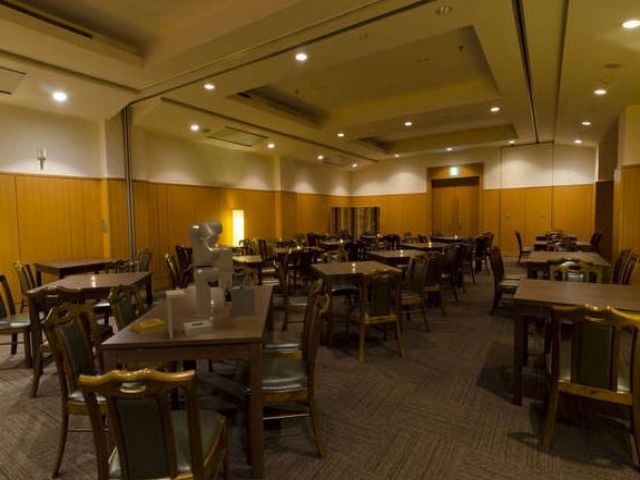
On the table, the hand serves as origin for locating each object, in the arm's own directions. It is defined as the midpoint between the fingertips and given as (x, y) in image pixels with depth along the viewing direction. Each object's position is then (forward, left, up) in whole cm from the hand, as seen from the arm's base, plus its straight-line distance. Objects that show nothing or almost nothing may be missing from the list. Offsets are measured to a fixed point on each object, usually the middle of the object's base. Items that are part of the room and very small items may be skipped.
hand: (227, 300), depth 221 cm
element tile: (-23, -42, -17) cm, 51 cm away
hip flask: (-24, +14, -16) cm, 32 cm away
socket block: (-3, -21, -16) cm, 27 cm away
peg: (0, 0, -4) cm, 4 cm away
